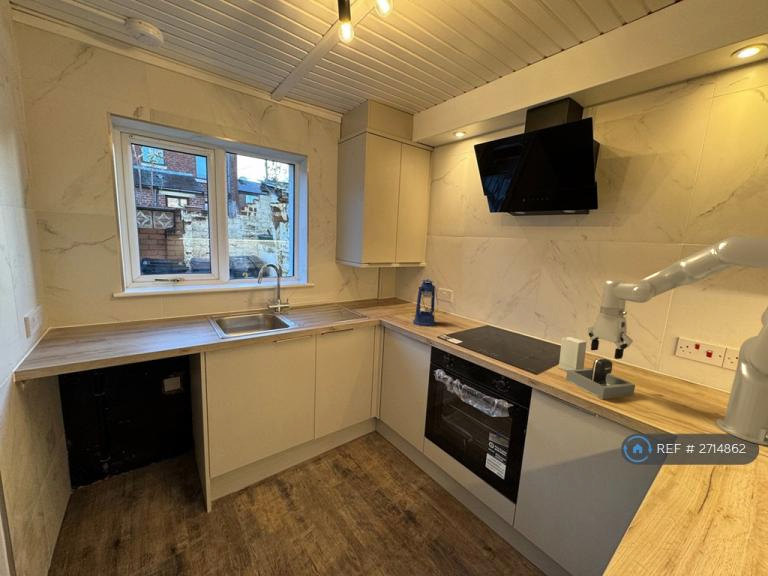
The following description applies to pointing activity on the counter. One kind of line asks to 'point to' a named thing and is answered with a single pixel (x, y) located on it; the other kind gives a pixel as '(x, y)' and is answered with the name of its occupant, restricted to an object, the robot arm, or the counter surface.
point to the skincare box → (572, 354)
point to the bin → (612, 390)
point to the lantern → (426, 314)
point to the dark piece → (601, 370)
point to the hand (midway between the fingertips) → (605, 354)
